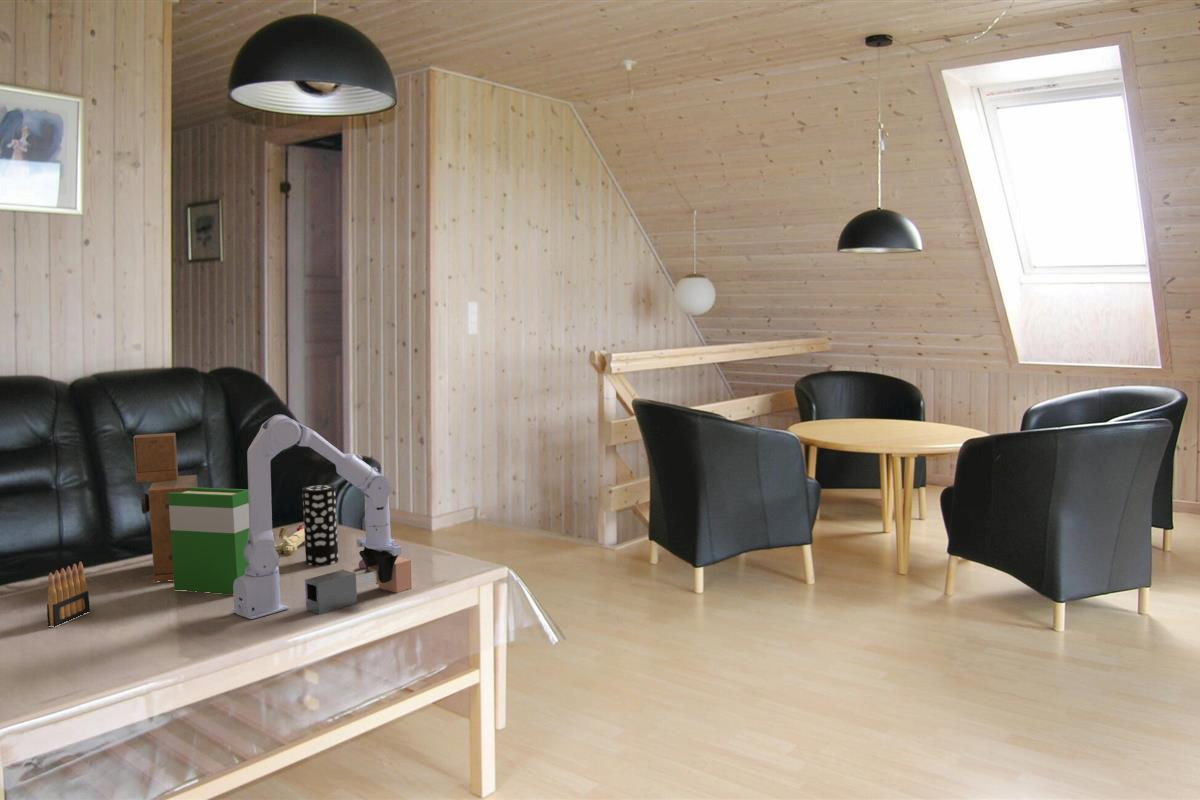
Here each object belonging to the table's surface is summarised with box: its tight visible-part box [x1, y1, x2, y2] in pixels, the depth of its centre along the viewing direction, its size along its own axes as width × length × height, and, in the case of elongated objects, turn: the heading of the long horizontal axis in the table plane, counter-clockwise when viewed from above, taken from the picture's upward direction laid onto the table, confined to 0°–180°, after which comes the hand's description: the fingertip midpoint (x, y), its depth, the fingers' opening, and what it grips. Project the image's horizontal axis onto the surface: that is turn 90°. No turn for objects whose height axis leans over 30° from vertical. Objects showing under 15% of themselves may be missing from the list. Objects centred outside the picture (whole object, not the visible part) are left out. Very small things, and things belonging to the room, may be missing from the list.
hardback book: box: [168, 486, 249, 595], centre depth 236 cm, size 18×7×24 cm, turn 75°
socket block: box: [378, 556, 412, 594], centre depth 235 cm, size 4×7×7 cm, turn 50°
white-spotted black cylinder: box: [301, 484, 339, 567], centre depth 259 cm, size 8×8×20 cm
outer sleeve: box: [304, 569, 358, 615], centre depth 221 cm, size 10×5×7 cm, turn 140°
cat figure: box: [274, 523, 305, 556], centre depth 279 cm, size 10×9×25 cm
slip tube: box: [353, 564, 392, 590], centre depth 229 cm, size 17×4×4 cm, turn 140°
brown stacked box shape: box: [132, 432, 199, 583], centre depth 252 cm, size 19×14×35 cm
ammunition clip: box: [46, 561, 91, 627], centre depth 215 cm, size 11×2×12 cm, turn 168°
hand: (380, 580), depth 232 cm, fingers closed on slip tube, 4 cm apart
